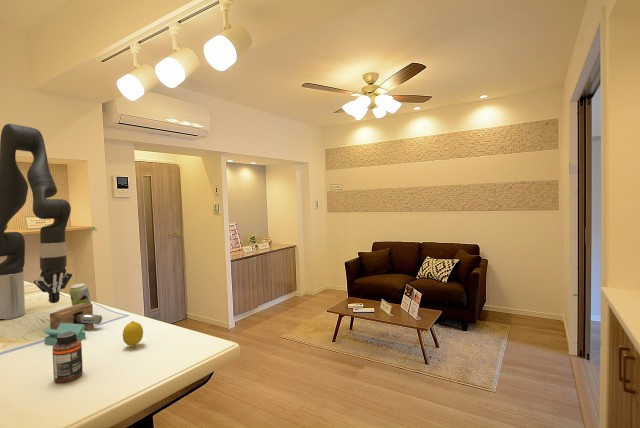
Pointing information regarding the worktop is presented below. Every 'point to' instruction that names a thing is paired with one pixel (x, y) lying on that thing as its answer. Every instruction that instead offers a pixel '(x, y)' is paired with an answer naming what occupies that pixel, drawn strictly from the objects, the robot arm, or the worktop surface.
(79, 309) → the brown wooden block
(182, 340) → the worktop surface
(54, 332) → the v block
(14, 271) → the robot arm
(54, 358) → the supplement bottle
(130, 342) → the lemon
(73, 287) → the beverage can
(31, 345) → the worktop surface
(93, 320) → the axle
